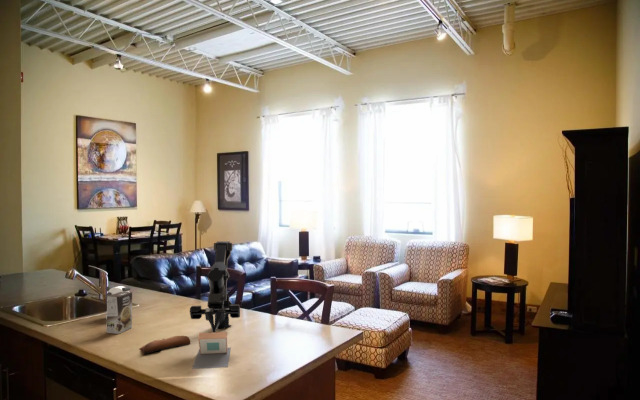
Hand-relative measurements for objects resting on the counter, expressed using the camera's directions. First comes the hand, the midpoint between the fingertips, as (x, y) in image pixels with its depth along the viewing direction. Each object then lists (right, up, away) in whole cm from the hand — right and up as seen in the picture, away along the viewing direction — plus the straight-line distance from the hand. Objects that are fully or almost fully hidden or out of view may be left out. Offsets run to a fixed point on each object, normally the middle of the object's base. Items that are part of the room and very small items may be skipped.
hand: (213, 332), depth 158 cm
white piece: (-59, -8, +49) cm, 77 cm away
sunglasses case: (-22, -9, +8) cm, 25 cm away
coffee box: (-49, -8, +28) cm, 57 cm away
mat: (0, -9, -3) cm, 9 cm away
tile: (0, -7, +1) cm, 8 cm away
